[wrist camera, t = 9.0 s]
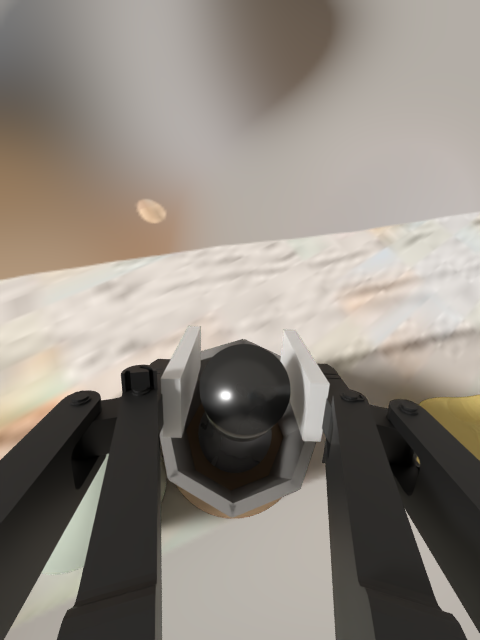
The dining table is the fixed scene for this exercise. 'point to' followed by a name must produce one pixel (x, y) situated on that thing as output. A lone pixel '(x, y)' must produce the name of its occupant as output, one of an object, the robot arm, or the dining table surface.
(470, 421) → the cheese
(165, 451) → the grey octagonal cup
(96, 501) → the pale green dome knob
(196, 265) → the dining table surface
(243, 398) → the plunger
